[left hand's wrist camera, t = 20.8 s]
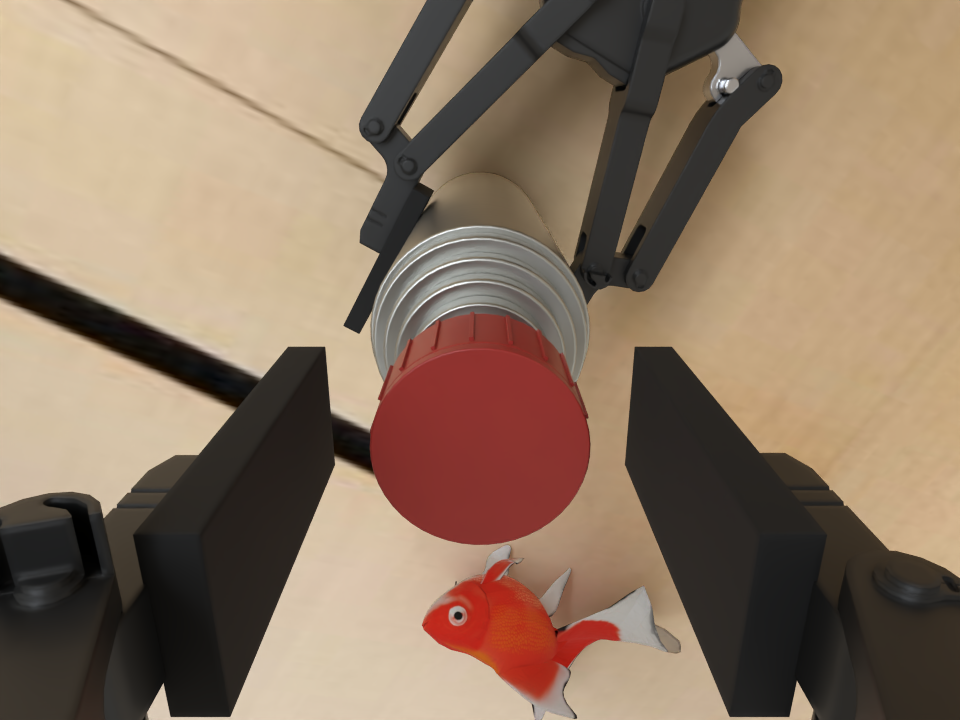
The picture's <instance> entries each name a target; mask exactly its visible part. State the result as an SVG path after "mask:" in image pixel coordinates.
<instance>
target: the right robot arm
mask: <svg viewBox="0 0 960 720" xmlns="http://www.w3.org/2000/svg"><path fill="white" fill-rule="evenodd" d="M472 1H473V0H427V1H426V3H425V5H424V6H423V8H422V10H421V12H420V14H419V15H418V17H417V19H416V21H415V22H414V24H413V26H412V28H411V30H410V31H409V33H408V35H407V37H406V39H405V40H404V42H403V44H402V46H401V48H400V49H399V51H398V53H397V55H396V56H395V58H394V60H393V62H392V64H391V65H390V67H389V69H388V71H387V73H386V74H385V76H384V78H383V80H382V82H381V83H380V85H379V87H378V89H377V90H376V92H375V94H374V96H373V98H372V99H371V101H370V103H369V105H368V107H367V108H366V110H365V112H364V114H363V116H362V117H361V120H360V123H359V129H360V132H361V135H362V136H363V137H364V138H365V139H366V140H367V141H369V142H370V143H371V144H372V145H373V146H374V148H375V149H376V150H377V151H378V152H379V153H380V154H381V155H382V157H383V158H384V160H385V162H386V165H387V176H386V179H385V181H384V183H383V185H382V187H381V189H380V191H379V193H378V195H377V197H376V199H375V201H374V203H373V206H372V208H371V210H370V212H369V214H368V216H367V218H366V220H365V222H364V224H363V226H362V228H361V230H360V243H361V244H363V245H365V246H366V247H368V248H370V249H372V250H374V251H376V252H378V253H380V254H379V256H378V258H377V260H376V262H375V264H374V266H373V268H372V270H371V272H370V274H369V276H368V278H367V280H366V282H365V284H364V286H363V288H362V290H361V292H360V294H359V296H358V298H357V300H356V302H355V304H354V306H353V308H352V310H351V312H350V314H349V316H348V318H347V320H346V321H345V323H344V325H343V326H345V327H347V328H349V329H351V330H353V331H355V332H357V333H359V334H360V332H361V330H362V328H363V326H364V324H365V323H366V321H367V319H368V317H369V315H370V313H371V311H372V309H373V305H374V301H375V297H376V295H377V293H378V290H379V288H380V285H381V283H382V282H383V280H384V278H385V276H386V275H387V273H388V271H389V270H390V268H391V266H392V264H393V263H394V261H395V259H396V258H397V256H398V254H399V252H400V251H401V249H402V247H403V246H404V244H405V242H406V241H407V239H408V237H409V235H410V234H411V232H412V230H413V229H414V227H415V225H416V224H417V222H418V220H419V218H420V217H421V215H422V213H423V211H424V209H425V207H426V205H427V203H428V201H429V199H430V197H431V195H432V194H433V192H434V190H432V189H430V188H428V187H427V186H425V185H423V184H421V183H419V182H420V180H421V178H422V176H423V174H424V172H425V171H426V170H427V169H428V168H429V167H430V166H431V165H432V164H433V163H434V162H435V161H436V160H437V159H438V158H439V157H440V156H441V155H442V154H443V153H444V152H445V151H446V150H447V149H448V148H449V147H450V146H451V145H452V144H453V143H454V142H455V141H456V140H457V139H458V138H459V137H460V136H461V135H462V134H463V133H464V132H465V131H466V130H467V129H468V128H469V127H470V126H471V125H472V124H473V123H474V122H475V121H476V120H477V119H478V118H479V117H480V116H481V115H482V114H483V113H484V112H485V111H486V110H487V109H488V108H489V107H490V106H491V105H492V104H493V103H494V102H495V101H496V100H497V99H498V98H499V97H500V96H501V95H502V94H503V93H504V92H505V91H506V90H507V89H508V88H509V87H510V86H511V85H512V84H514V83H515V82H516V81H517V80H518V79H519V78H520V77H521V76H522V75H523V74H524V73H525V72H526V71H527V70H528V69H529V68H530V67H531V66H532V65H533V64H534V63H535V62H536V61H537V60H538V59H539V58H540V57H541V56H542V55H543V54H544V53H545V52H546V51H547V50H548V49H549V48H550V47H553V48H554V49H556V50H557V51H559V52H561V53H562V54H564V55H565V56H567V57H570V58H574V59H578V60H581V61H585V62H587V63H588V64H589V65H590V66H591V67H592V69H593V70H594V71H595V72H596V73H597V74H598V75H599V76H600V77H601V78H602V79H604V80H606V81H607V82H609V83H611V84H612V85H614V86H613V90H612V94H611V98H610V103H609V115H608V119H607V124H606V128H605V132H604V136H603V140H602V144H601V148H600V152H599V156H598V160H597V165H596V169H595V173H594V177H593V181H592V185H591V189H590V193H589V197H588V201H587V206H586V210H585V214H584V218H583V222H582V226H581V230H580V234H579V238H578V243H577V247H576V251H575V255H574V261H573V263H572V264H571V266H570V269H571V270H572V272H573V274H574V275H575V277H576V279H577V281H578V283H579V285H580V287H581V289H582V291H583V294H584V297H585V300H586V303H587V304H588V302H589V301H590V299H591V298H592V296H593V295H594V293H595V292H596V291H597V290H598V289H603V288H605V287H607V286H618V287H625V288H630V289H631V290H633V291H636V292H642V291H645V290H647V289H649V288H650V287H651V285H652V284H653V283H654V281H655V279H656V277H657V275H658V274H659V272H660V270H661V268H662V267H663V265H664V263H665V261H666V259H667V258H668V256H669V254H670V252H671V250H672V249H673V247H674V245H675V243H676V242H677V240H678V238H679V236H680V234H681V233H682V231H683V229H684V227H685V225H686V224H687V222H688V220H689V218H690V217H691V215H692V213H693V211H694V209H695V208H696V206H697V204H698V202H699V201H700V199H701V197H702V195H703V193H704V192H705V190H706V188H707V186H708V184H709V183H710V181H711V179H712V177H713V176H714V174H715V172H716V170H717V168H718V167H719V165H720V163H721V161H722V159H723V158H724V156H725V154H726V152H727V151H728V149H729V147H730V145H731V143H732V142H733V140H734V138H735V136H736V135H737V133H738V131H739V129H740V127H741V126H742V125H743V124H744V123H745V122H746V121H747V120H748V119H749V118H751V117H752V116H753V115H754V114H755V113H756V112H757V111H758V110H759V109H760V108H761V107H762V106H763V105H764V104H765V103H766V102H768V101H769V100H770V99H771V98H772V97H773V96H774V95H775V94H776V93H777V92H778V90H779V89H780V87H781V84H782V74H781V72H780V70H779V69H778V68H777V67H776V66H774V65H770V64H767V65H761V64H760V63H759V62H758V60H757V59H756V58H755V57H754V55H753V54H752V53H751V52H750V50H749V49H748V48H747V46H746V45H745V44H744V43H743V41H742V40H741V39H740V38H739V36H738V35H737V34H736V33H735V32H736V30H737V27H738V24H739V20H740V10H741V4H742V0H539V1H540V9H539V10H538V11H537V12H536V13H535V14H534V15H533V16H532V17H531V18H530V19H529V20H528V21H527V22H526V23H525V24H524V25H523V26H522V27H521V29H520V30H519V31H518V32H517V33H516V34H515V35H514V36H513V37H512V38H511V39H510V40H509V41H508V42H507V43H506V44H505V45H504V47H503V48H502V49H501V50H500V51H499V52H498V53H497V54H496V55H495V56H494V57H493V58H492V59H491V60H490V61H489V62H488V63H487V64H486V65H485V66H484V67H483V68H482V69H481V70H480V71H479V72H478V73H477V74H476V75H475V76H474V77H473V78H472V79H471V80H470V81H469V82H468V83H467V84H466V85H465V86H464V87H463V88H462V89H461V90H460V91H459V92H458V93H457V94H456V95H455V96H454V97H453V98H452V99H451V100H450V101H449V102H448V103H447V104H446V105H445V106H444V107H443V109H442V110H441V111H440V112H439V113H438V114H437V115H436V116H435V117H434V118H433V119H432V120H431V121H430V122H429V123H428V124H427V125H426V126H425V127H424V128H423V129H422V130H421V131H420V132H419V133H418V134H417V135H416V136H415V137H414V138H413V139H411V138H410V137H409V135H408V134H407V133H406V132H405V131H404V130H403V128H402V127H401V126H400V125H401V124H402V122H403V120H404V119H405V117H406V115H407V113H408V112H409V110H410V108H411V106H412V105H413V103H414V101H415V100H416V98H417V96H418V94H419V93H420V91H421V89H422V88H423V86H424V84H425V82H426V81H427V79H428V77H429V75H430V74H431V72H432V70H433V69H434V67H435V65H436V63H437V62H438V60H439V58H440V56H441V55H442V53H443V51H444V50H445V48H446V46H447V44H448V43H449V41H450V39H451V38H452V36H453V34H454V32H455V31H456V29H457V27H458V25H459V24H460V22H461V20H462V19H463V17H464V15H465V13H466V12H467V10H468V8H469V6H470V5H471V3H472ZM706 55H708V56H709V57H710V60H711V71H710V74H709V75H708V77H707V79H706V80H705V82H704V85H703V93H704V96H705V98H706V99H707V100H706V102H705V103H704V104H703V105H702V106H701V108H700V109H699V110H698V112H697V113H696V114H695V116H694V118H693V119H692V121H691V123H690V124H689V126H688V128H687V130H686V132H685V134H684V135H683V137H682V139H681V141H680V143H679V145H678V147H677V148H676V150H675V152H674V154H673V156H672V158H671V160H670V162H669V163H668V165H667V167H666V169H665V171H664V173H663V175H662V176H661V178H660V180H659V182H658V184H657V186H656V188H655V190H654V191H653V193H652V195H651V197H650V199H649V201H648V203H647V205H646V206H645V208H644V210H643V212H642V214H641V216H640V218H639V219H638V221H637V223H636V225H635V227H634V229H633V231H632V233H631V234H630V236H629V238H628V240H627V242H626V244H625V246H624V247H623V249H622V251H621V253H618V252H615V251H616V248H617V244H618V240H619V236H620V233H621V229H622V225H623V221H624V217H625V214H626V210H627V206H628V202H629V199H630V195H631V191H632V187H633V183H634V180H635V176H636V172H637V168H638V164H639V161H640V157H641V153H642V149H643V146H644V142H645V138H646V134H647V130H648V127H649V123H650V120H651V118H652V116H653V115H654V113H655V110H656V108H657V105H658V101H659V97H660V93H661V90H662V86H663V82H664V78H665V75H667V74H670V73H672V72H674V71H676V70H678V69H680V68H682V67H684V66H686V65H688V64H690V63H692V62H694V61H696V60H698V59H700V58H702V57H704V56H706Z"/></svg>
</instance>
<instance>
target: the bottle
mask: <svg viewBox="0 0 960 720" xmlns="http://www.w3.org/2000/svg"><path fill="white" fill-rule="evenodd" d="M470 312H474V314H493V315H500V316H504V317H505V316H506V315H509V316H510V318H512V319H514V320H517V321H519V322H522V323H524V324H526V325H528V326H530V327H531V328H533V329H535V330H536V331H537V329H539V330H540V331H541V332H542V335H543V336H544V337H545V338H546V339H547V340H549V341H550V342H551V343H552V344H553V345H554V347H555V348H556V349H557V350H558V352H559V353H563V354H564V356H565V358H566V361H567V364H568V367H569V370H570V373H571V376H572V378H573V381H574V382H577V380H578V378H579V375H580V372H581V370H582V367H583V364H584V361H585V358H586V354H587V349H588V345H589V335H590V324H589V314H588V308H587V303H586V300H585V297H584V294H583V291H582V289H581V287H580V285H579V283H578V281H577V279H576V277H575V275H574V274H573V272H572V270H571V269H570V267H569V265H568V264H567V262H566V260H565V259H564V257H563V255H562V253H561V252H560V250H559V248H558V247H557V245H556V243H555V242H554V240H553V238H552V236H551V235H550V233H549V231H548V230H547V228H546V226H545V225H544V223H543V221H542V219H541V218H540V216H539V214H538V213H537V211H536V209H535V208H534V206H533V204H532V203H531V201H530V199H529V198H528V196H527V195H526V194H525V193H524V192H523V190H522V189H521V188H519V187H518V186H517V185H516V184H515V183H513V182H512V181H510V180H508V179H506V178H504V177H502V176H499V175H496V174H492V173H486V172H475V173H468V174H464V175H461V176H458V177H456V178H454V179H452V180H450V181H448V182H447V183H446V184H444V185H443V186H442V187H441V188H440V189H439V190H438V191H437V192H436V193H435V194H434V195H433V197H432V198H431V200H430V201H429V203H428V205H427V206H426V208H425V210H424V212H423V213H422V215H421V217H420V218H419V220H418V222H417V224H416V225H415V227H414V229H413V230H412V232H411V234H410V235H409V237H408V239H407V241H406V242H405V244H404V246H403V247H402V249H401V251H400V252H399V254H398V256H397V258H396V259H395V261H394V263H393V264H392V266H391V268H390V270H389V271H388V273H387V275H386V276H385V278H384V280H383V282H382V283H381V285H380V288H379V290H378V293H377V295H376V297H375V301H374V305H373V309H372V316H371V342H372V348H373V353H374V357H375V360H376V363H377V366H378V369H379V372H380V375H381V377H382V379H383V381H385V378H386V375H387V372H388V370H389V367H390V365H392V366H393V365H394V363H395V362H396V360H397V358H398V356H399V355H400V354H401V352H402V351H403V350H404V348H405V347H406V345H407V342H408V340H409V339H410V338H411V339H412V340H413V339H414V338H415V337H416V336H417V335H419V334H420V333H421V332H423V331H424V330H426V329H427V328H429V327H431V326H432V325H434V324H435V323H436V321H437V320H440V322H441V321H443V320H446V319H449V318H453V317H456V316H460V315H468V314H470Z"/></svg>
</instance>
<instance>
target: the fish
mask: <svg viewBox="0 0 960 720" xmlns="http://www.w3.org/2000/svg"><path fill="white" fill-rule="evenodd" d="M510 551H511V547H510V546H509V545H505V546H502V547H501V548H499V549H497V550H496V551H494V552H493V553H492V554H490V555H489V557H488V559H487V562H486V568H485V570H484V572H483V573H482V574H481V575H476V576H472V577H470V578H467V579H465V580H464V581H462V582H460V583H458V584H457V581H456V582H455V586H454V587H452V588H451V589H450V590H448V591H447V592H446V593H444V594H443V595H442V596H441V597H439V598H438V599H437V600H436V601H435V602H434V603H433V604H432V605H431V607H430V608H429V610H428V611H427V614H426V616H425V618H424V621H423V623H422V626H423V629H424V630H425V631H426V632H427V633H428V634H429V635H430V636H431V637H432V638H433V639H435V640H436V641H437V642H438V643H439V644H441V645H443V646H445V647H447V648H449V649H451V650H454V651H458V652H462V653H466V654H469V655H471V656H473V657H475V658H476V659H478V660H480V661H482V662H483V663H485V664H487V665H489V666H490V667H492V668H493V669H494V670H495V671H496V673H497V674H498V675H499V676H500V677H501V678H502V679H503V680H504V681H505V682H506V683H507V684H508V685H510V686H511V687H512V688H513V689H514V690H515V691H516V692H518V693H519V694H520V695H521V696H522V697H524V698H525V699H526V700H528V701H529V702H530V703H532V707H533V712H534V717H535V720H542V718H543V716H544V714H545V711H548V712H551V713H554V714H557V715H561V716H565V717H569V718H573V719H577V715H576V714H575V713H574V712H573V710H572V709H571V708H570V707H569V705H568V704H567V702H566V700H565V698H564V693H563V691H564V688H565V686H566V684H567V682H568V680H569V678H570V674H571V672H570V670H569V668H570V666H571V665H572V663H573V662H574V660H575V658H576V657H577V656H578V655H579V654H580V652H581V651H582V650H583V649H584V648H586V647H587V646H588V645H590V644H591V643H593V642H595V641H597V640H600V639H607V640H613V641H623V642H631V643H638V644H642V645H647V646H651V647H654V648H657V649H659V650H662V651H665V652H670V653H679V652H681V645H680V642H679V640H678V639H676V638H675V637H674V636H673V635H671V634H670V633H669V632H668V631H667V630H665V629H663V628H661V627H659V626H657V625H655V624H654V617H653V610H652V606H651V603H650V600H649V598H648V595H647V592H646V590H645V587H644V586H642V587H640V588H638V589H637V590H635V591H633V592H631V593H629V594H628V595H627V596H625V597H624V598H622V599H621V600H619V601H618V602H617V603H615V604H614V605H612V606H611V607H609V608H607V609H605V610H602V611H600V612H598V613H595V614H593V615H591V616H588V617H586V618H584V619H581V620H579V621H576V622H574V623H572V624H569V625H567V626H564V627H562V628H559V629H556V628H554V627H553V625H552V623H551V620H550V618H549V617H551V616H552V615H553V614H554V613H555V612H556V609H557V607H558V605H559V602H560V599H561V596H562V593H563V590H564V587H565V585H566V582H567V580H568V577H569V575H570V573H571V569H570V568H569V569H568V570H567V571H566V572H565V573H563V574H562V575H561V576H560V577H559V578H558V579H557V580H556V581H555V582H554V583H553V584H552V585H551V586H550V588H549V589H548V590H547V591H546V593H545V594H544V595H543V596H542V597H541V598H540V599H538V598H537V597H536V596H535V595H534V594H533V593H532V592H531V591H530V590H529V589H528V588H526V587H525V586H524V585H523V584H521V583H520V582H518V581H517V580H515V579H513V578H510V577H508V576H507V575H508V573H509V567H510V566H511V565H513V564H514V563H516V564H518V563H520V562H521V561H522V560H523V558H511V559H509V556H510Z"/></svg>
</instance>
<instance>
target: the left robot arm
mask: <svg viewBox="0 0 960 720" xmlns="http://www.w3.org/2000/svg"><path fill="white" fill-rule="evenodd" d="M334 466H335V459H334V447H333V435H332V423H331V411H330V399H329V387H328V375H327V363H326V351H325V347H288V348H287V349H286V350H285V351H284V353H283V354H282V355H281V356H280V357H279V359H278V360H277V361H276V362H275V363H274V365H273V366H272V367H271V368H270V369H269V371H268V372H267V373H266V374H265V376H264V377H263V378H262V379H261V380H260V382H259V383H258V384H257V385H256V386H255V388H254V389H253V390H252V391H251V392H250V394H249V395H248V396H247V397H246V398H245V400H244V401H243V402H242V403H241V404H240V406H239V407H238V408H237V409H236V411H235V412H234V413H233V414H232V415H231V417H230V418H229V419H228V420H227V421H226V423H225V424H224V425H223V426H222V427H221V429H220V430H219V431H218V432H217V433H216V435H215V436H214V437H213V438H212V439H211V441H210V442H209V443H208V444H207V446H206V447H205V448H204V449H203V450H202V452H201V453H200V454H199V455H175V456H173V457H172V458H170V459H168V460H166V461H165V462H163V463H161V464H159V465H158V466H156V467H154V468H152V469H151V470H149V471H148V472H147V473H146V474H145V475H144V476H143V477H142V478H141V479H140V480H139V481H138V482H137V484H136V485H135V486H134V487H133V488H132V489H131V493H127V494H126V495H125V496H124V498H123V499H122V500H121V501H120V502H119V503H118V504H117V508H113V509H112V510H111V511H110V513H109V514H108V515H107V516H106V517H105V518H103V514H102V509H101V505H100V502H99V501H98V500H96V499H95V498H93V497H92V496H91V495H87V494H81V493H75V492H62V493H48V494H44V495H39V496H35V497H30V498H26V499H22V500H19V501H17V502H14V503H12V504H9V505H6V506H4V507H1V508H0V720H148V715H147V711H148V710H149V708H150V706H151V704H152V702H153V701H154V699H155V697H156V695H157V693H158V692H159V690H160V688H161V686H162V684H163V683H164V687H165V692H166V697H167V702H168V706H169V711H170V716H171V717H230V716H231V714H232V711H233V709H234V707H235V704H236V702H237V699H238V697H239V695H240V692H241V690H242V687H243V685H244V683H245V680H246V678H247V675H248V673H249V670H250V668H251V666H252V663H253V661H254V658H255V656H256V654H257V651H258V649H259V646H260V644H261V642H262V639H263V637H264V634H265V632H266V630H267V627H268V625H269V622H270V620H271V618H272V615H273V613H274V610H275V608H276V605H277V603H278V601H279V598H280V596H281V593H282V591H283V589H284V586H285V584H286V581H287V579H288V577H289V574H290V572H291V569H292V567H293V565H294V562H295V560H296V557H297V555H298V552H299V550H300V548H301V545H302V543H303V540H304V538H305V536H306V533H307V531H308V528H309V526H310V524H311V521H312V519H313V516H314V514H315V512H316V509H317V507H318V504H319V502H320V499H321V497H322V495H323V492H324V490H325V487H326V485H327V483H328V480H329V478H330V475H331V473H332V471H333V468H334ZM625 466H626V468H627V471H628V473H629V475H630V478H631V480H632V483H633V485H634V487H635V490H636V492H637V495H638V497H639V499H640V502H641V504H642V507H643V509H644V512H645V514H646V516H647V519H648V521H649V524H650V526H651V528H652V531H653V533H654V536H655V538H656V540H657V543H658V545H659V548H660V550H661V552H662V555H663V557H664V560H665V562H666V565H667V567H668V569H669V572H670V574H671V577H672V579H673V581H674V584H675V586H676V589H677V591H678V593H679V596H680V598H681V601H682V603H683V605H684V608H685V610H686V613H687V615H688V617H689V620H690V622H691V625H692V627H693V630H694V632H695V634H696V637H697V639H698V642H699V644H700V646H701V649H702V651H703V654H704V656H705V658H706V661H707V663H708V666H709V668H710V670H711V673H712V675H713V678H714V680H715V683H716V685H717V687H718V690H719V692H720V695H721V697H722V699H723V702H724V704H725V707H726V709H727V711H728V714H729V716H730V717H789V716H790V711H791V706H792V702H793V697H794V692H795V687H796V682H797V681H798V683H799V685H800V686H801V688H802V690H803V692H804V693H805V695H806V697H807V699H808V701H809V702H810V704H811V706H812V708H813V709H814V711H813V715H812V720H960V578H959V577H957V576H956V575H954V574H953V573H951V572H950V571H948V570H947V569H946V568H943V567H941V566H939V565H937V564H934V563H932V562H930V561H928V560H925V559H923V558H921V557H917V556H913V555H909V554H905V553H902V552H898V551H889V550H888V549H887V548H886V547H885V546H884V544H883V543H882V542H881V541H880V540H879V539H878V538H877V537H876V536H875V535H874V534H873V533H872V532H871V531H870V530H869V529H868V527H867V526H866V525H865V524H864V523H863V522H862V521H861V520H860V519H859V518H858V517H857V516H856V515H855V514H854V513H853V512H852V510H851V509H850V508H849V507H848V506H844V504H843V501H842V500H841V499H840V498H839V497H838V496H837V495H836V493H835V492H834V491H833V490H829V486H828V485H827V484H826V483H825V482H824V481H823V480H822V479H821V477H820V476H819V475H818V474H817V473H816V472H815V471H814V470H813V469H812V468H810V467H809V466H807V465H805V464H803V463H802V462H800V461H798V460H796V459H795V458H793V457H791V456H789V455H788V454H786V453H759V452H758V450H757V449H756V448H755V447H754V446H753V444H752V443H751V442H750V441H749V439H748V438H747V437H746V436H745V435H744V433H743V432H742V431H741V430H740V429H739V427H738V426H737V425H736V424H735V423H734V421H733V420H732V419H731V418H730V417H729V415H728V414H727V413H726V412H725V411H724V409H723V408H722V407H721V406H720V404H719V403H718V402H717V401H716V400H715V398H714V397H713V396H712V395H711V394H710V392H709V391H708V390H707V389H706V388H705V386H704V385H703V384H702V383H701V382H700V380H699V379H698V378H697V377H696V376H695V374H694V373H693V372H692V371H691V369H690V368H689V367H688V366H687V365H686V363H685V362H684V361H683V360H682V359H681V357H680V356H679V355H678V354H677V353H676V351H675V350H674V349H673V348H672V347H635V351H634V363H633V375H632V387H631V399H630V411H629V423H628V435H627V447H626V459H625Z"/></svg>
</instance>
